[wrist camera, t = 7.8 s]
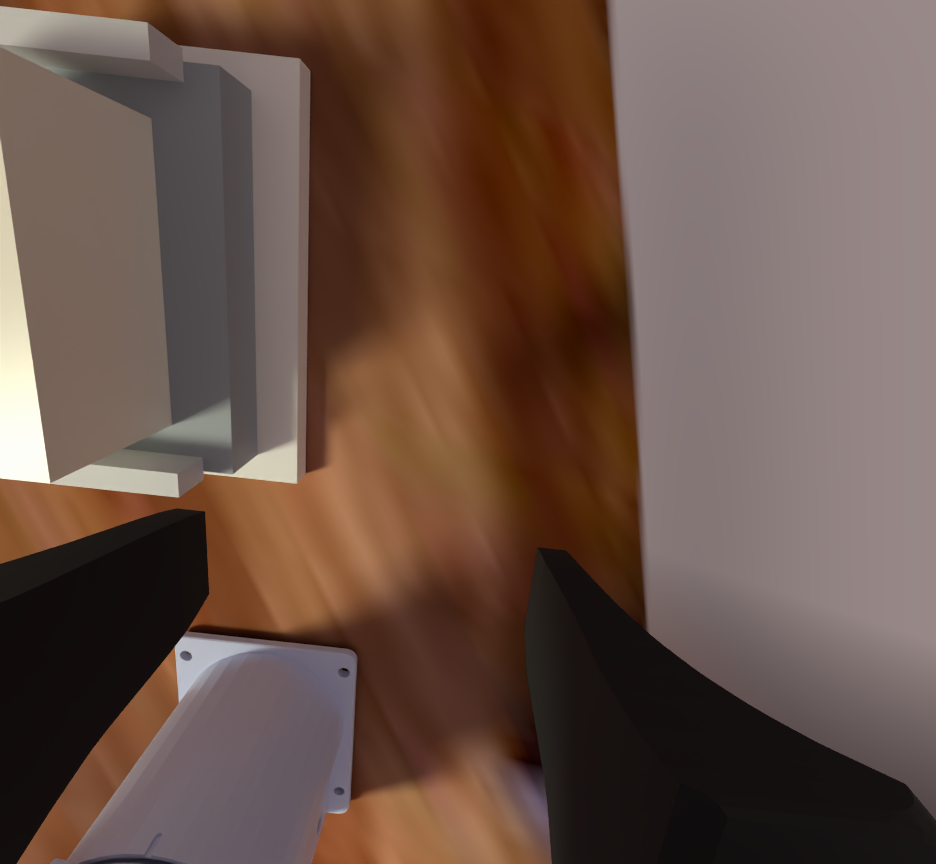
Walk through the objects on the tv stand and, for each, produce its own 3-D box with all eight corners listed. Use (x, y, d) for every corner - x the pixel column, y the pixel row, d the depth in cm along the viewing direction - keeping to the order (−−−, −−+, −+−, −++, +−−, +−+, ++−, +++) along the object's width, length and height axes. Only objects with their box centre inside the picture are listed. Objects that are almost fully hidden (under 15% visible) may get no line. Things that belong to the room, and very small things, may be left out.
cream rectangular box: (172, 425, 17) (50, 483, 12) (51, 412, 17) (-118, 465, 12) (151, 118, 14) (-14, 40, 10) (9, 103, 14) (-228, 16, 10)
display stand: (305, 474, 21) (258, 526, 16) (32, 444, 21) (-87, 489, 16) (310, 71, 17) (249, -1, 12) (-30, 34, 17) (-211, -52, 12)
